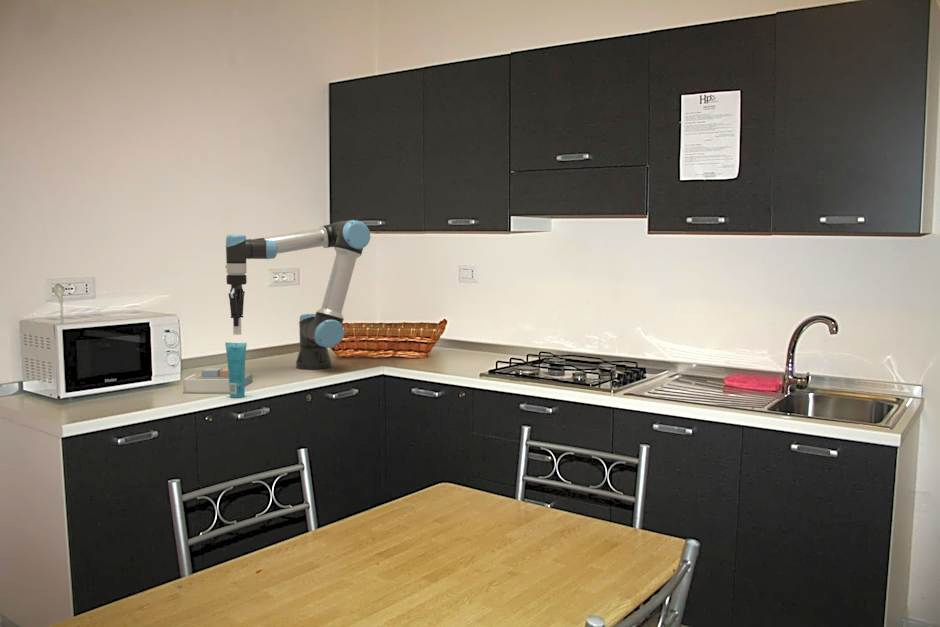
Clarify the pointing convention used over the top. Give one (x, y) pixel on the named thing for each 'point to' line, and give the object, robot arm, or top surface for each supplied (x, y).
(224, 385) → the tray
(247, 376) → the board
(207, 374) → the tile
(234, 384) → the tube
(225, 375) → the tile
